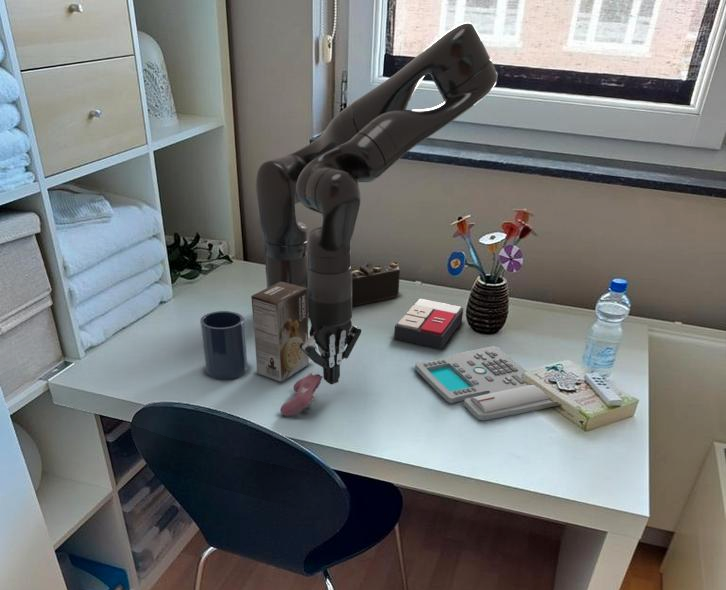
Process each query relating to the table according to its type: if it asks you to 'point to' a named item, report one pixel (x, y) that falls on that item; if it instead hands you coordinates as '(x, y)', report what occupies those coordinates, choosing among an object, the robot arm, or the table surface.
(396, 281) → the camera
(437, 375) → the office telephone
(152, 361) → the table surface
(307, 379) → the video game controller
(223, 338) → the pen cup
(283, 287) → the coffee box
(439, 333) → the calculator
